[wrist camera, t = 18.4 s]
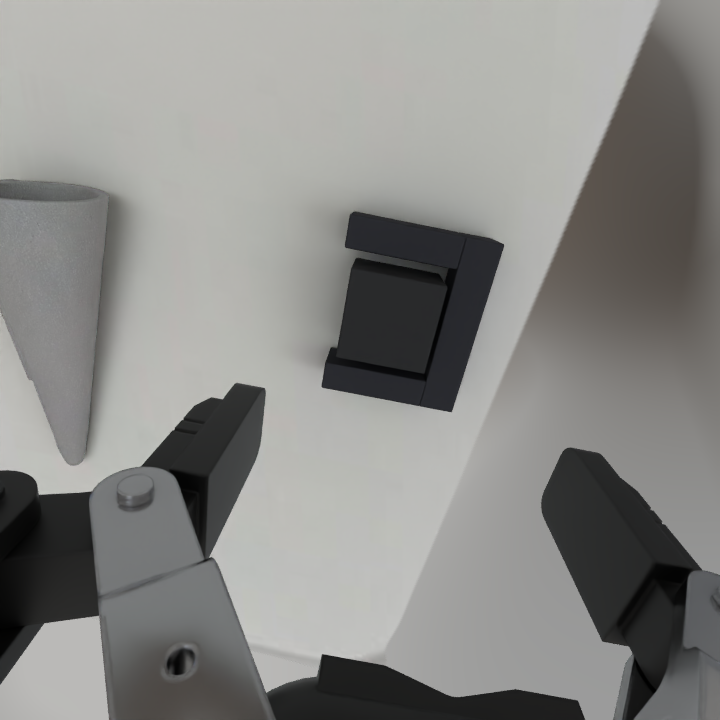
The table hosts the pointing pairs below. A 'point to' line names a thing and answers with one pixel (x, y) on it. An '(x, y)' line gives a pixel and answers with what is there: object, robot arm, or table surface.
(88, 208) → the long tapered cone
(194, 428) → the robot arm
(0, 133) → the table surface
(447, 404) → the dark u-shaped bracket
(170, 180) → the table surface
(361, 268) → the matte black cube
